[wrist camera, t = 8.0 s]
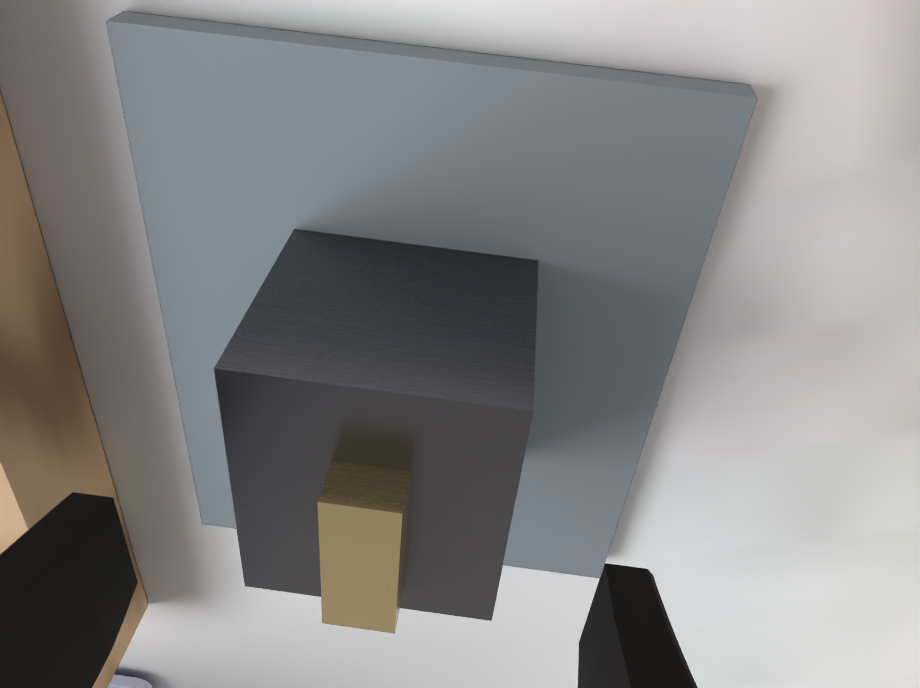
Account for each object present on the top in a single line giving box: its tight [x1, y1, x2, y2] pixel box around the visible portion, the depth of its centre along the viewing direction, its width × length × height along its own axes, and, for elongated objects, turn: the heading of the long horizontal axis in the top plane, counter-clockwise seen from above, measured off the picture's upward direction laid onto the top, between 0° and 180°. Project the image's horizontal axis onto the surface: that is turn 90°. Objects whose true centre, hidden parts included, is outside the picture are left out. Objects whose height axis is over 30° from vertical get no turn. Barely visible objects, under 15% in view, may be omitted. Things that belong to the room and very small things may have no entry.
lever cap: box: [214, 229, 538, 633], centre depth 13 cm, size 5×4×5 cm
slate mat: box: [106, 11, 757, 578], centre depth 15 cm, size 12×10×1 cm
